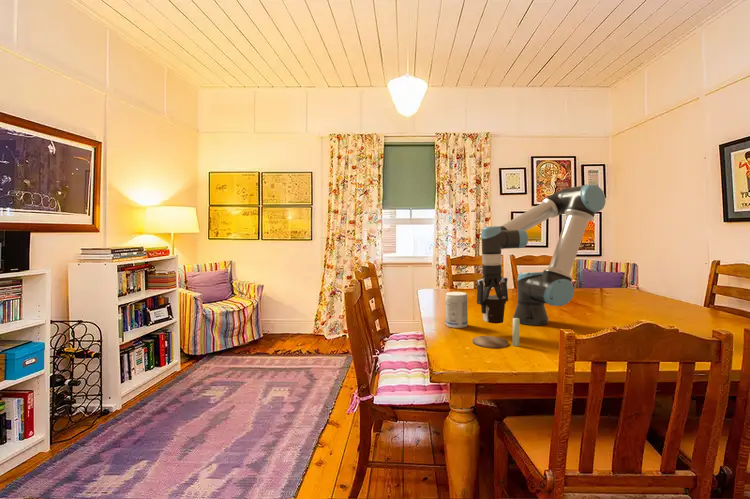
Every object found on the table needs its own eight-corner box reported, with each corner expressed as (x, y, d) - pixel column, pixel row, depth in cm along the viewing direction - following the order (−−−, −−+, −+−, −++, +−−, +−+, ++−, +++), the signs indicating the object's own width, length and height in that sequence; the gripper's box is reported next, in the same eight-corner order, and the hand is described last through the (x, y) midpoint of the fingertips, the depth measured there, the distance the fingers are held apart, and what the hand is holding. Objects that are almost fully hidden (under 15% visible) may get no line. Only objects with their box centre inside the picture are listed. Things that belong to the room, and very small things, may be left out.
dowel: (516, 344, 145) (516, 317, 144) (520, 345, 143) (521, 319, 142) (511, 344, 144) (511, 318, 143) (515, 346, 142) (515, 319, 141)
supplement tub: (461, 322, 178) (462, 291, 178) (471, 327, 169) (471, 294, 168) (442, 324, 176) (442, 292, 176) (450, 329, 167) (450, 295, 166)
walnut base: (493, 336, 155) (493, 334, 155) (515, 345, 143) (515, 343, 143) (465, 340, 150) (465, 338, 150) (486, 349, 138) (486, 347, 138)
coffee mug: (507, 324, 152) (507, 299, 152) (485, 324, 154) (484, 299, 153) (503, 317, 164) (503, 293, 163) (482, 317, 165) (481, 294, 165)
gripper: (505, 261, 164) (506, 315, 165) (466, 265, 157) (467, 320, 159) (517, 263, 157) (518, 319, 158) (477, 266, 150) (478, 325, 152)
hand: (493, 319), depth 159 cm, fingers closed on coffee mug, 6 cm apart
